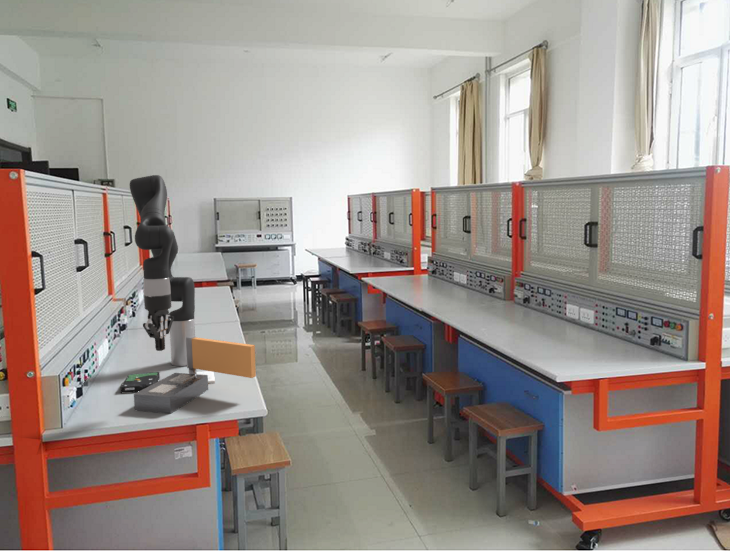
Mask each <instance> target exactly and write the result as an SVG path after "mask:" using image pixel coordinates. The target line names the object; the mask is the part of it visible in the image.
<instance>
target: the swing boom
mask: <svg viewBox="0 0 730 551" xmlns="http://www.w3.org/2000/svg"><path fill="white" fill-rule="evenodd" d="M186 350H187V369H189V368H190V369H192V368H194V369H196V370H200V371H212V372H214V373H217V374H218V373H220V374H225V375H231V376H238V377H242V378H249V379H253V378H255V377H256V376H257V371H256V369H257V368H256V346H255V344H249V343H241V342H233V341H224V340H221V339H220V340H219V339H218V340H217V339H210V338H203V337H197V336H196V337H186Z"/></svg>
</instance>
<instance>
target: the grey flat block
mask: <svg viewBox="0 0 730 551" xmlns="http://www.w3.org/2000/svg"><path fill="white" fill-rule="evenodd" d="M206 390H207V391H209V384H208V375H200V374H189V373H182V372H173V373H172V374H169V375H168V376H166V377H164V378H163V379H159V381H158V382H156V383H154V384H152V385H151V386H149V387H147V388H145V389H143V390H141V391H139V392H134V394H133V402H134V403H133V404H134V411H135V410H137V411H136V412H147V413H150V412H152V413H161V414H169V415H171V414H172V413H174V412H176V411H177V410H179V409H180V408H182V407H184V406H185V405H187V404H188V403H190V402H192V399H193V400H195V399H196V398H198V397H199V396H201V395H203V394H204V393H205V391H206ZM207 391H206V392H207ZM203 392H204V393H203ZM200 394H201V395H200ZM197 396H198V397H197ZM195 397H196V398H195ZM194 398H195V399H194ZM189 401H190V402H189ZM187 402H188V403H187ZM186 403H187V404H186ZM184 404H185V405H184ZM183 405H184V406H183ZM181 406H182V407H181ZM178 408H179V409H178Z"/></svg>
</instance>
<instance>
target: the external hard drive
mask: <svg viewBox="0 0 730 551" xmlns="http://www.w3.org/2000/svg"><path fill="white" fill-rule="evenodd" d="M196 373H197V374H200V375H208V383H212V384H215V383H216V381H215V379H216V378H215V372H212V371H206V370H200V371H196Z"/></svg>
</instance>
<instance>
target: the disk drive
mask: <svg viewBox="0 0 730 551" xmlns="http://www.w3.org/2000/svg"><path fill="white" fill-rule="evenodd" d="M160 378H161V376H160V372H159V371H155V372H154V371H153V372H143V373H130V374H128V375H127V377H126V378H125V380H124V381H123V383H122V384H121V386H120V394H123V393H122V392H132V393H137V392H138V391H141V390H143V389H145V388H147V387H149V386H151V385H152V384H154V383H156V382H158V380H159V381H160Z"/></svg>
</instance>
